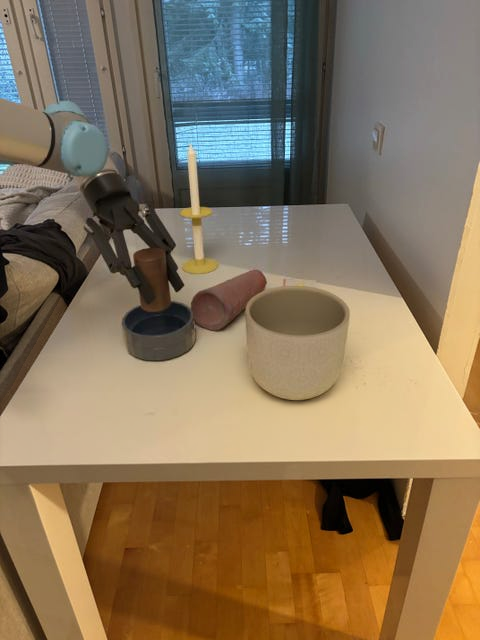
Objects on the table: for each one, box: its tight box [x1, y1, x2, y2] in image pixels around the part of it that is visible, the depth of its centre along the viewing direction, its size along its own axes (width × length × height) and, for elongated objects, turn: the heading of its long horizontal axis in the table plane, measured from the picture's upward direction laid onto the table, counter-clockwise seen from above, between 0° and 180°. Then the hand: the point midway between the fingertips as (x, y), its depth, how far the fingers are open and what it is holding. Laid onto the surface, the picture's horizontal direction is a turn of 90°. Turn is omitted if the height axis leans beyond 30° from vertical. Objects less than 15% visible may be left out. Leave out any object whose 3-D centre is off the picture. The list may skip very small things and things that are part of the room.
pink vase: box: [190, 269, 268, 331], centre depth 105 cm, size 21×9×9 cm, turn 152°
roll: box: [132, 247, 172, 312], centre depth 83 cm, size 6×6×10 cm
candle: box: [179, 141, 219, 275], centre depth 120 cm, size 10×10×32 cm
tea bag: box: [282, 278, 317, 288], centre depth 100 cm, size 4×7×10 cm, turn 79°
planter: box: [244, 285, 351, 401], centre depth 80 cm, size 17×17×15 cm
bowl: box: [121, 300, 196, 361], centre depth 95 cm, size 14×14×6 cm
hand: (166, 294), depth 81 cm, fingers closed on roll, 5 cm apart
